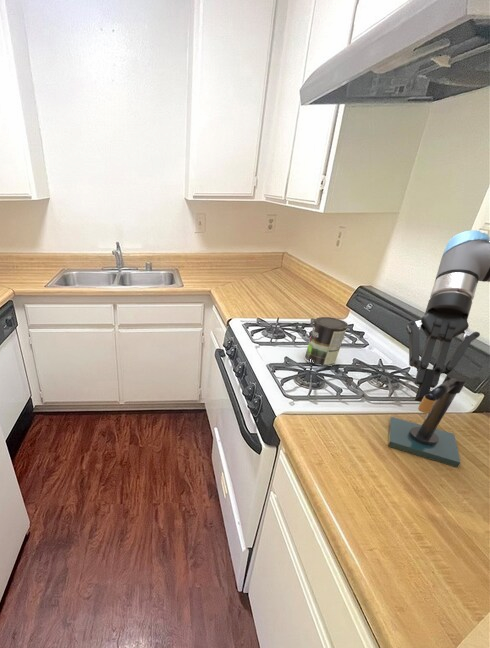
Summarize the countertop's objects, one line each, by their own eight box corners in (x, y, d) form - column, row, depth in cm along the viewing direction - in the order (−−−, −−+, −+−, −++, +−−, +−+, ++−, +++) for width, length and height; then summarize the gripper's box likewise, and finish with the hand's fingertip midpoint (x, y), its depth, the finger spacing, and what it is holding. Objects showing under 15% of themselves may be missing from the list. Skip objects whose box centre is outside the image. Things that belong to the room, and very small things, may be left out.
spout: (442, 386, 79) (451, 371, 77) (460, 393, 77) (470, 378, 74) (412, 407, 71) (420, 391, 69) (431, 416, 69) (440, 399, 67)
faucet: (451, 438, 87) (483, 387, 78) (457, 467, 78) (494, 413, 70) (388, 420, 92) (412, 371, 84) (387, 446, 83) (414, 393, 75)
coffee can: (306, 365, 118) (318, 326, 110) (302, 353, 126) (312, 315, 119) (338, 368, 117) (352, 329, 109) (331, 355, 125) (343, 318, 117)
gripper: (478, 314, 76) (450, 413, 73) (410, 303, 81) (381, 395, 78) (496, 296, 69) (466, 404, 66) (421, 286, 75) (390, 385, 72)
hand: (420, 399), depth 72 cm, fingers closed
